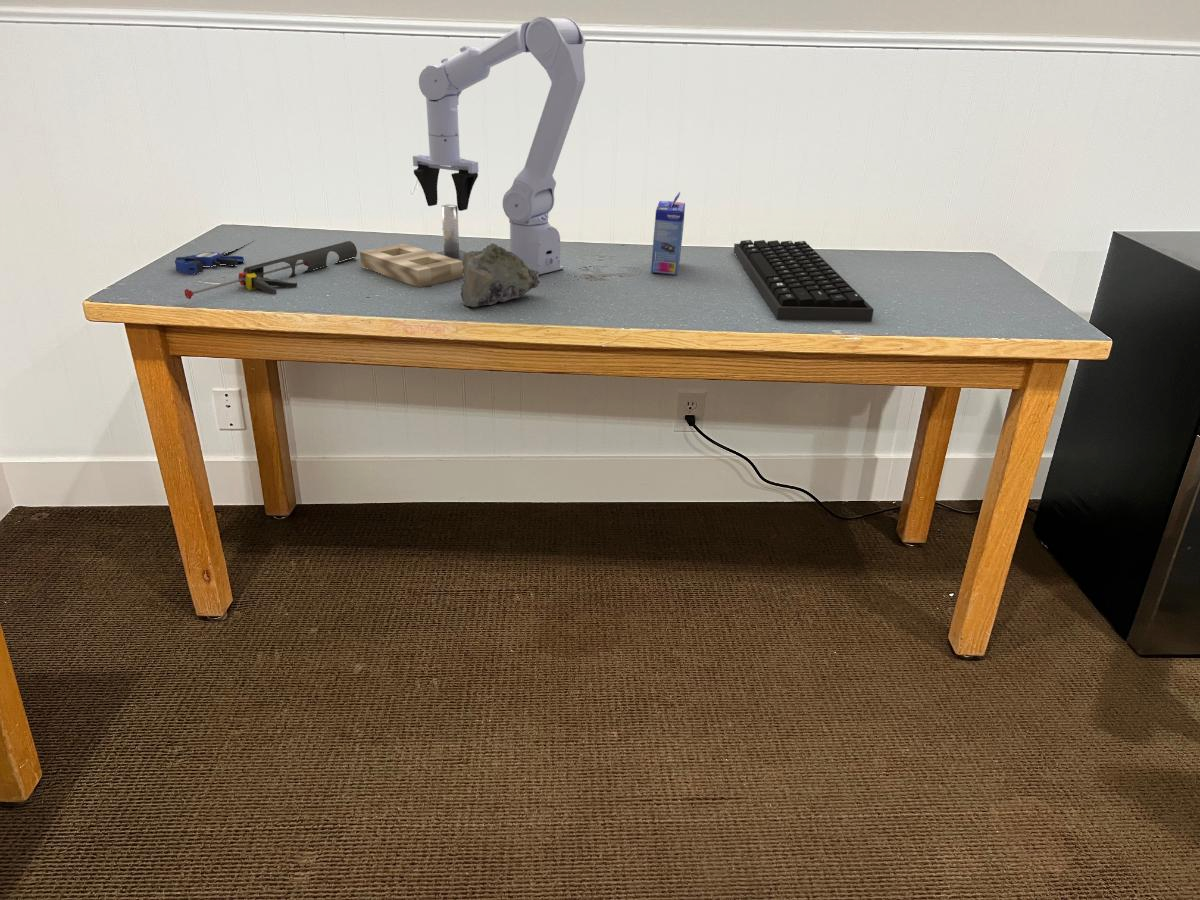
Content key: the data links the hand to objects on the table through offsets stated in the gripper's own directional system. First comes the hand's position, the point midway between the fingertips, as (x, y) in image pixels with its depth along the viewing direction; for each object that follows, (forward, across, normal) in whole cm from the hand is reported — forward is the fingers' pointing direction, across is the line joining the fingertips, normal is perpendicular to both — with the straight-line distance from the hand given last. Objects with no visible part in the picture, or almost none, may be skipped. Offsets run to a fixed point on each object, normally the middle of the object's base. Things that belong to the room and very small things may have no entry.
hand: (447, 207), depth 171 cm
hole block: (+9, -2, +14) cm, 17 cm away
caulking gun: (+10, +12, +32) cm, 35 cm away
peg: (+9, -2, +2) cm, 10 cm away
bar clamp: (+10, +35, +24) cm, 43 cm away
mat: (+9, -2, +2) cm, 10 cm away
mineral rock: (+10, -27, +20) cm, 35 cm away
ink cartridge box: (+10, -40, -17) cm, 45 cm away
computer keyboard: (+11, -65, -22) cm, 69 cm away
